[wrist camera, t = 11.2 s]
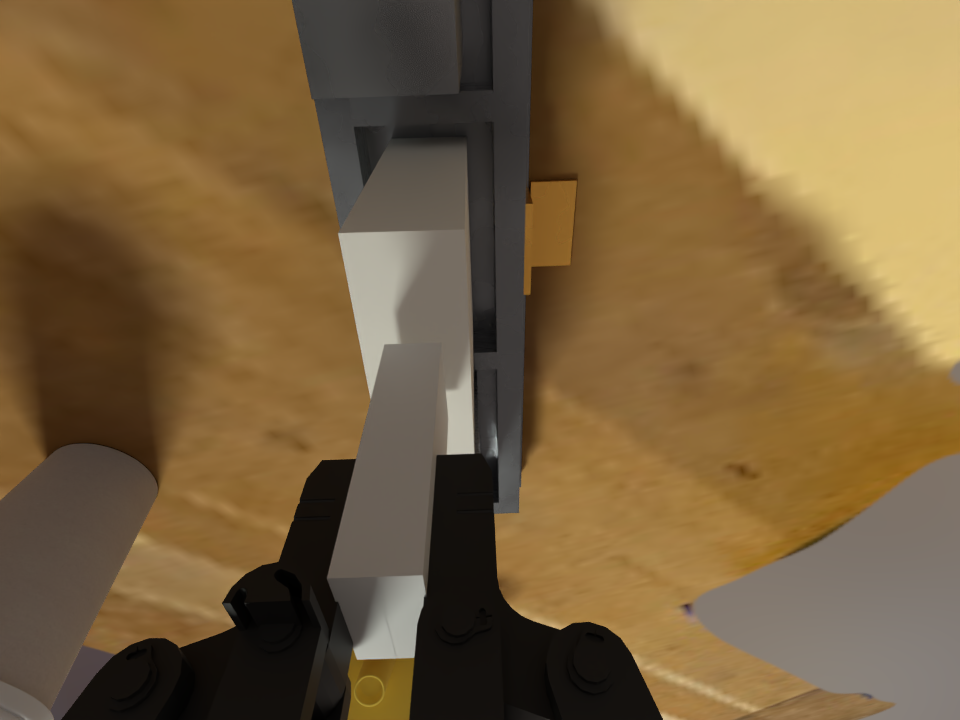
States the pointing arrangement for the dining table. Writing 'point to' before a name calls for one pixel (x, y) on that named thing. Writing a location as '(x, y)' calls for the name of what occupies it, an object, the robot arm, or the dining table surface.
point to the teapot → (380, 688)
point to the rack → (490, 158)
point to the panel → (416, 266)
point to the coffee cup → (62, 565)
